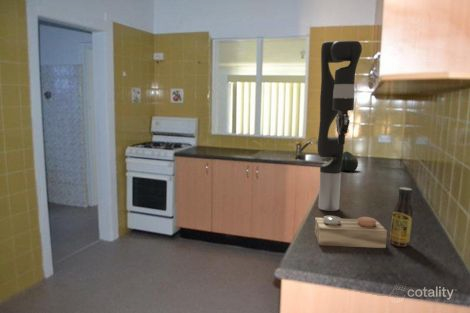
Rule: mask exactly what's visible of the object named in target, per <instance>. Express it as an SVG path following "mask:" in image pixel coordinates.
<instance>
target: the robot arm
mask: <svg viewBox="0 0 470 313" xmlns="http://www.w3.org/2000/svg"><path fill="white" fill-rule="evenodd" d="M362 51H363V48H362V43H361V42H359V41H358V40H327V41H324V42H322V44H321V49H320V62H321V63H320V64H321V65H320V66H321V68H320V71H321V76H320V77H321V82H320V98H319V101H320V102H319V127H318V137H317V153H318V156H319V157H320V158H331V159H330V160H329V161H328V162H326V163H323V164H321V165H320V167H319V183H318V184H319V186H318V209H320V210H322V211H327V212H328V211H329V212H336V211H338V210H339V208H340V192H341V191H340V190H341V178H342V176H341V174H342V173H341V172H342V171H341V167H342V159H343V153H344V148H345V147H344V145H345V144H346V135H347V133H348V131H349V126H350V115H349V111H354V109H355V94H356V92H355V91H356V90H355V84H356V83H355V78H356V70H357V66H358V63H359V60H360V57H361V54H362ZM343 62H349V64H348V65H346V66H342V67H339V68H336V69H335V71H334V76H333V75H332V74H333V73H331V69H330V64H335V63H336V64H338V63H343ZM334 120H335V124H336V132H337V135H338V136H329V130H330V128H331V125H332V124H333V121H334Z"/></svg>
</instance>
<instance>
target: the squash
mask: <svg viewBox="0 0 470 313" xmlns="http://www.w3.org/2000/svg"><path fill="white" fill-rule="evenodd" d="M358 167H359V161H358V158H357V157H356V156H355V155H353V153H351V152H349V151H348V150H346V151H343V159H342V167H341V172H344V171H348V172H350V173H351V172H354V171H356V170H357V169H358Z"/></svg>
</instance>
